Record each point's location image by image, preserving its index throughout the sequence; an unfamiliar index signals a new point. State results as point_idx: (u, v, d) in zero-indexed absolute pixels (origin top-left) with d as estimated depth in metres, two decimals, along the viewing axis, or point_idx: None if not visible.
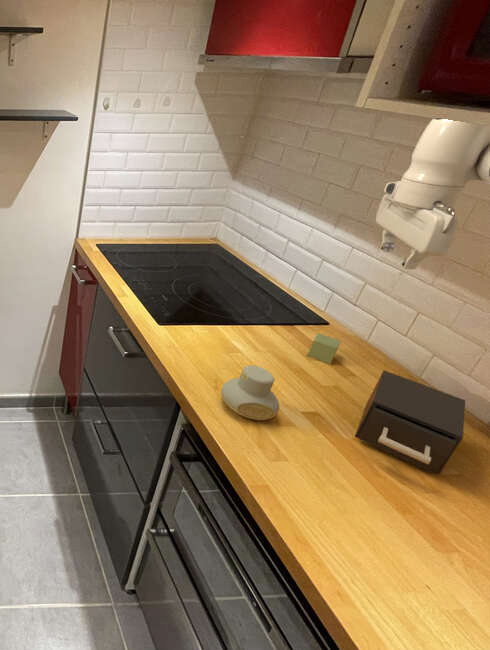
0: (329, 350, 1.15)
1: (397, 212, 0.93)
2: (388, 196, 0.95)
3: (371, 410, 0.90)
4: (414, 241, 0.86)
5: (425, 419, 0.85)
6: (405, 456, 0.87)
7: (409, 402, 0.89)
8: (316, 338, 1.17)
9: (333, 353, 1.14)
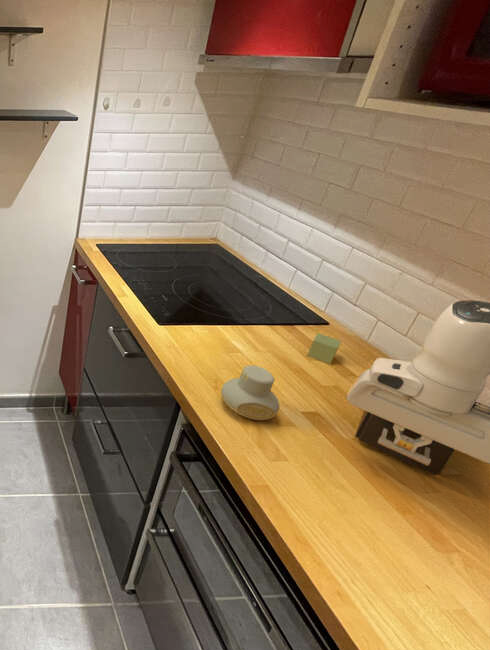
0: (329, 350, 1.15)
1: (398, 402, 0.81)
2: (381, 386, 0.81)
3: None
4: (468, 448, 0.75)
5: None
6: (404, 457, 0.86)
7: None
8: (316, 338, 1.17)
9: (333, 353, 1.14)
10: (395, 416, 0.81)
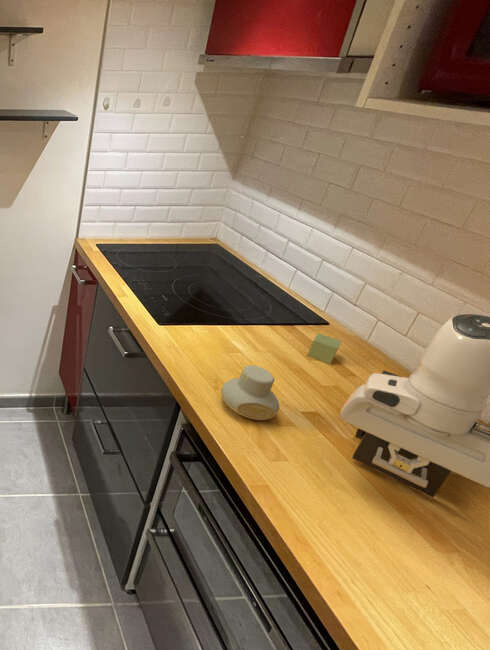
0: (329, 350, 1.15)
1: (394, 421, 0.76)
2: (376, 403, 0.77)
3: None
4: (467, 471, 0.71)
5: None
6: (400, 477, 0.82)
7: None
8: (316, 338, 1.17)
9: (333, 353, 1.14)
10: (391, 435, 0.77)
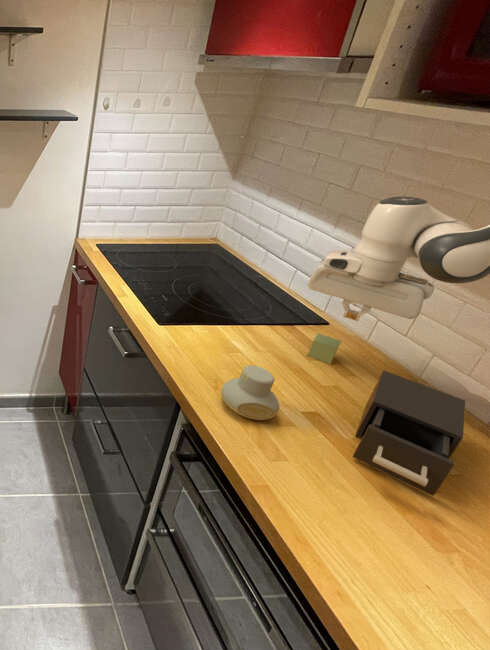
0: (329, 350, 1.15)
1: (345, 281, 1.04)
2: (332, 269, 1.05)
3: (371, 410, 0.90)
4: (395, 309, 0.99)
5: (425, 419, 0.85)
6: (400, 476, 0.82)
7: (409, 402, 0.89)
8: (316, 338, 1.17)
9: (333, 353, 1.14)
10: (343, 293, 1.05)
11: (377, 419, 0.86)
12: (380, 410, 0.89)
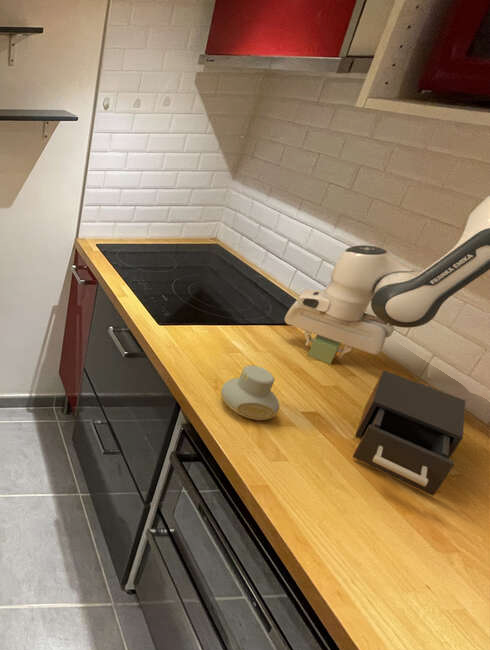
0: (329, 350, 1.15)
1: (317, 318, 1.16)
2: (305, 307, 1.16)
3: (371, 410, 0.90)
4: (361, 345, 1.10)
5: (425, 419, 0.85)
6: (400, 476, 0.82)
7: (409, 402, 0.89)
8: (316, 338, 1.17)
9: (333, 353, 1.14)
10: (315, 328, 1.16)
11: (377, 419, 0.86)
12: (380, 410, 0.89)
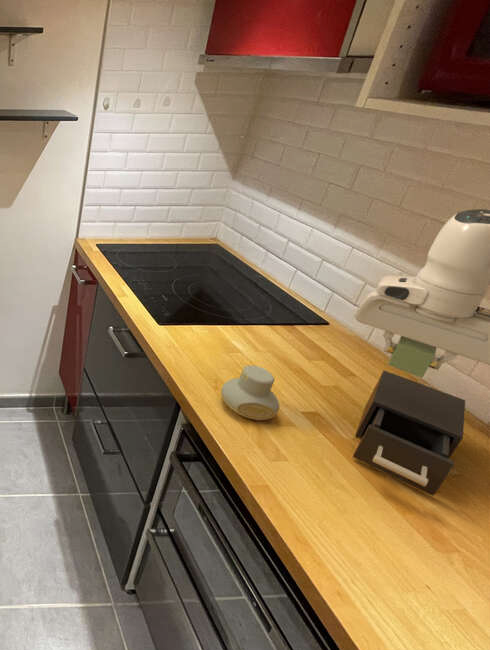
0: (422, 358, 0.83)
1: (405, 314, 0.84)
2: (387, 299, 0.85)
3: (371, 410, 0.90)
4: (472, 352, 0.79)
5: (425, 419, 0.85)
6: (400, 476, 0.82)
7: (409, 402, 0.89)
8: (401, 341, 0.86)
9: (428, 362, 0.83)
10: (401, 328, 0.85)
11: (377, 419, 0.86)
12: (380, 410, 0.89)
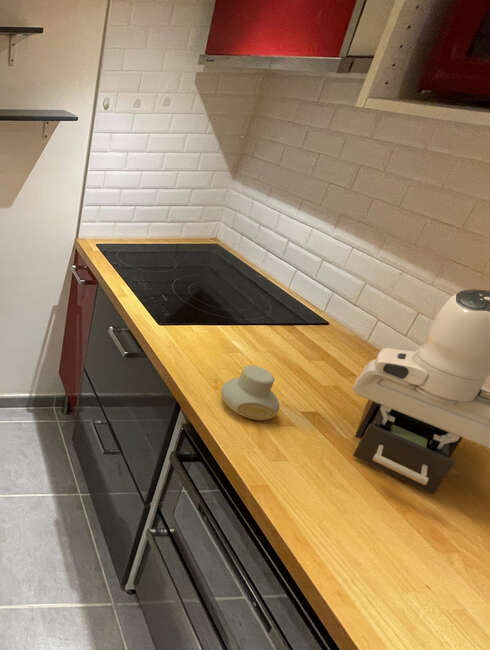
0: None
1: (404, 392, 0.81)
2: (386, 375, 0.82)
3: (371, 410, 0.90)
4: (474, 436, 0.76)
5: None
6: (401, 475, 0.83)
7: None
8: None
9: None
10: (401, 405, 0.82)
11: (377, 418, 0.87)
12: None
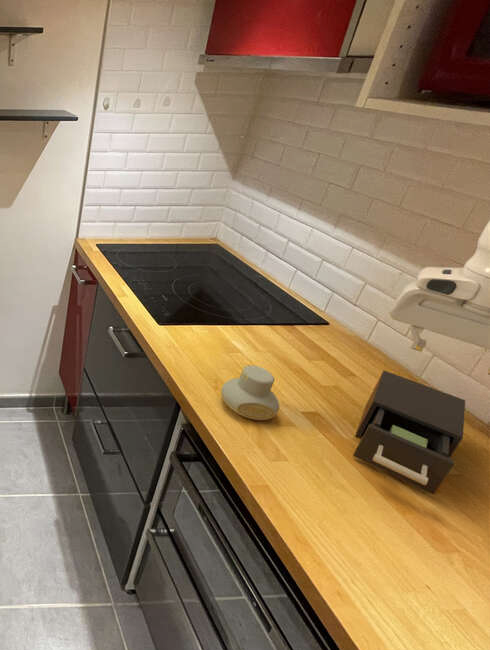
0: None
1: (450, 311, 0.74)
2: (430, 293, 0.74)
3: (371, 410, 0.90)
4: None
5: (425, 419, 0.85)
6: (401, 475, 0.83)
7: (409, 402, 0.89)
8: None
9: None
10: (445, 327, 0.75)
11: (377, 418, 0.87)
12: (380, 409, 0.89)
